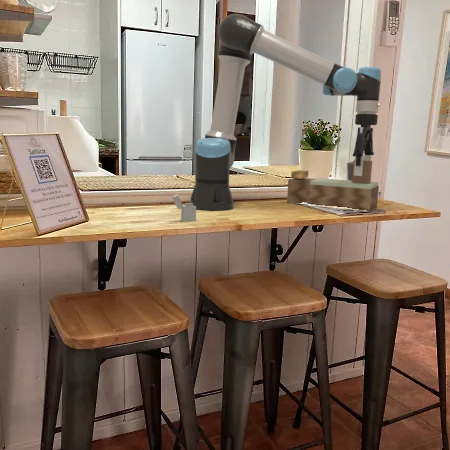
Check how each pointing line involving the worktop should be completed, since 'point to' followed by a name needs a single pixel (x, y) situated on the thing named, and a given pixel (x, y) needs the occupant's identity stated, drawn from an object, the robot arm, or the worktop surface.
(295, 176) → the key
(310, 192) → the brown wooden box
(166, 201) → the worktop surface
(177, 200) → the lighter
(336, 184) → the lid
